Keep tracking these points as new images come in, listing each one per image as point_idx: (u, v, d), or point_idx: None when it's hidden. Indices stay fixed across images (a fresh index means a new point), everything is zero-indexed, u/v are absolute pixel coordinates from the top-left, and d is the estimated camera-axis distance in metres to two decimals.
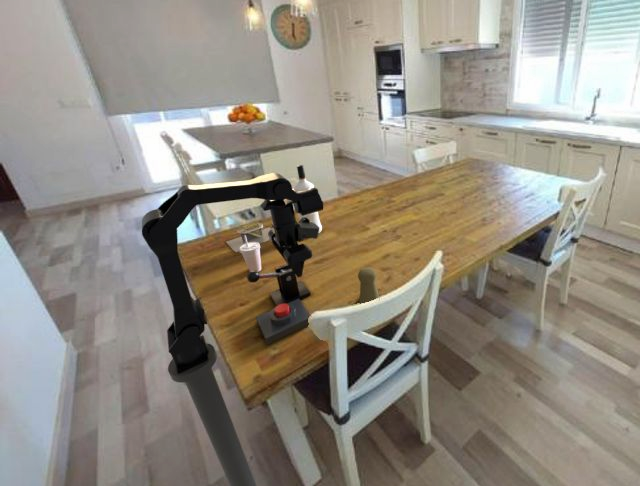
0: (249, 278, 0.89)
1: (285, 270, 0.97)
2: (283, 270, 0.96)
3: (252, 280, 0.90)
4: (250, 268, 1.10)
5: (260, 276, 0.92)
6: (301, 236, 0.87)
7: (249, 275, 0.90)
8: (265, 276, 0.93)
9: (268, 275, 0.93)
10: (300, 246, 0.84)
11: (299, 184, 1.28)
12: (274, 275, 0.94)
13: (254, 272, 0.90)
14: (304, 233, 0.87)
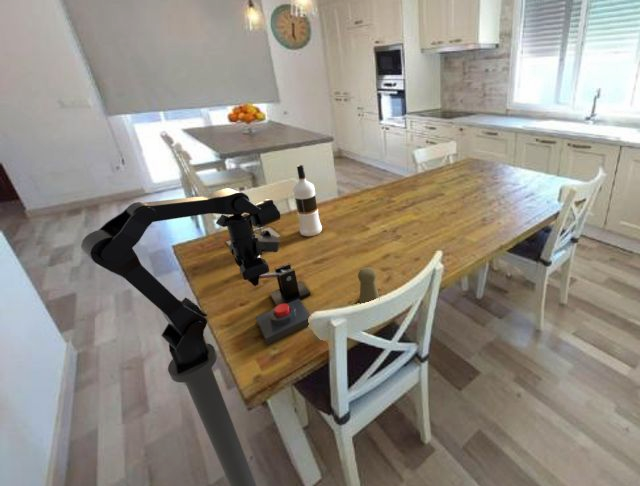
0: None
1: (285, 270, 0.97)
2: (283, 270, 0.96)
3: None
4: None
5: (260, 276, 0.92)
6: (259, 250, 0.87)
7: None
8: (265, 276, 0.93)
9: (268, 275, 0.93)
10: (257, 261, 0.84)
11: (299, 184, 1.28)
12: (274, 275, 0.94)
13: None
14: (263, 247, 0.87)
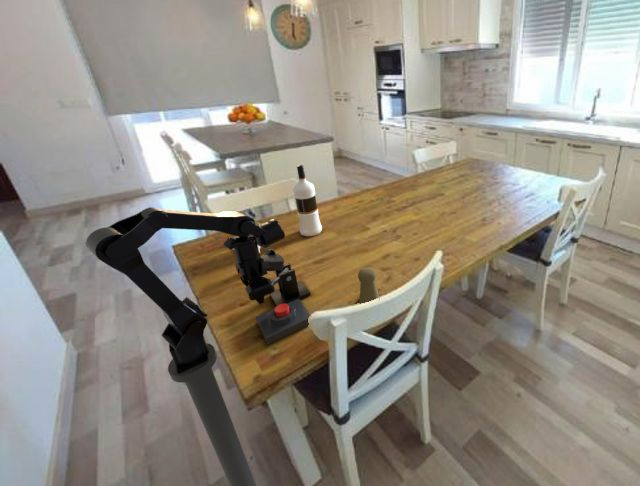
0: None
1: (282, 271, 0.96)
2: (281, 272, 0.96)
3: None
4: None
5: None
6: (265, 270, 0.90)
7: None
8: None
9: None
10: (262, 281, 0.86)
11: (299, 184, 1.28)
12: (275, 281, 0.95)
13: None
14: (268, 267, 0.90)
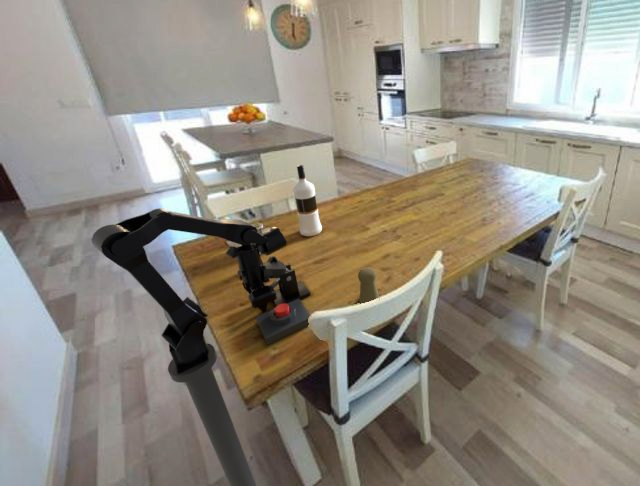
0: None
1: None
2: None
3: None
4: None
5: None
6: (267, 277, 0.91)
7: None
8: None
9: None
10: (265, 288, 0.87)
11: (299, 184, 1.28)
12: (276, 283, 0.95)
13: None
14: (270, 274, 0.91)
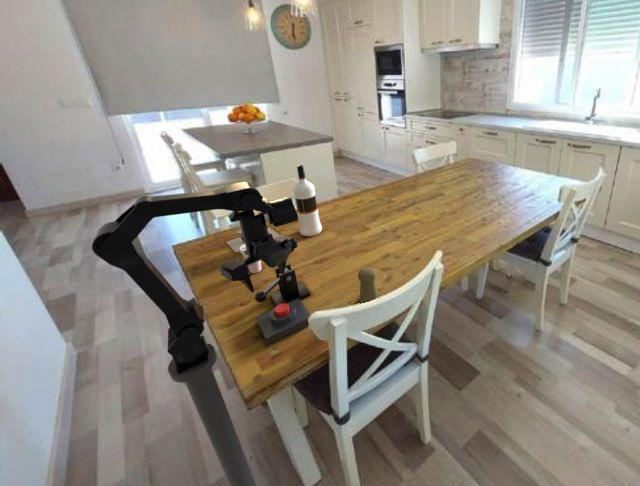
0: (258, 301, 0.93)
1: None
2: (280, 273, 0.96)
3: (261, 301, 0.93)
4: (250, 268, 1.10)
5: (265, 293, 0.94)
6: (255, 256, 0.79)
7: (256, 299, 0.93)
8: (270, 289, 0.95)
9: (271, 287, 0.95)
10: (238, 264, 0.77)
11: (299, 184, 1.28)
12: (276, 283, 0.95)
13: (257, 294, 0.93)
14: (258, 255, 0.78)
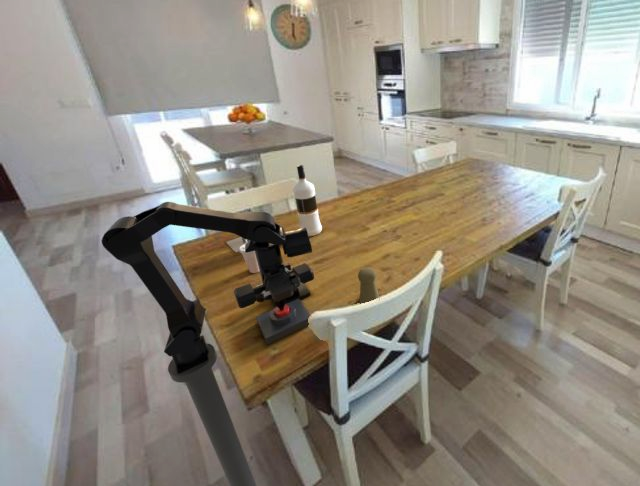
0: (258, 301, 0.93)
1: None
2: None
3: (261, 301, 0.93)
4: (250, 268, 1.10)
5: None
6: (265, 286, 0.79)
7: None
8: None
9: None
10: (247, 291, 0.79)
11: (299, 184, 1.28)
12: None
13: (257, 294, 0.93)
14: (266, 286, 0.79)
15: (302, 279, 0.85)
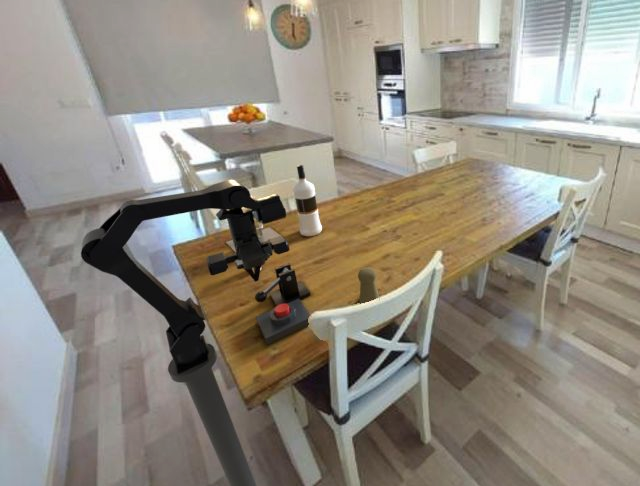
0: (258, 301, 0.93)
1: (282, 272, 0.96)
2: (280, 273, 0.96)
3: (261, 301, 0.93)
4: None
5: (265, 293, 0.94)
6: (237, 254, 0.79)
7: (256, 299, 0.93)
8: (270, 289, 0.95)
9: (271, 287, 0.95)
10: (219, 259, 0.79)
11: (299, 184, 1.28)
12: (276, 283, 0.95)
13: (257, 294, 0.93)
14: (238, 253, 0.78)
15: (276, 250, 0.85)
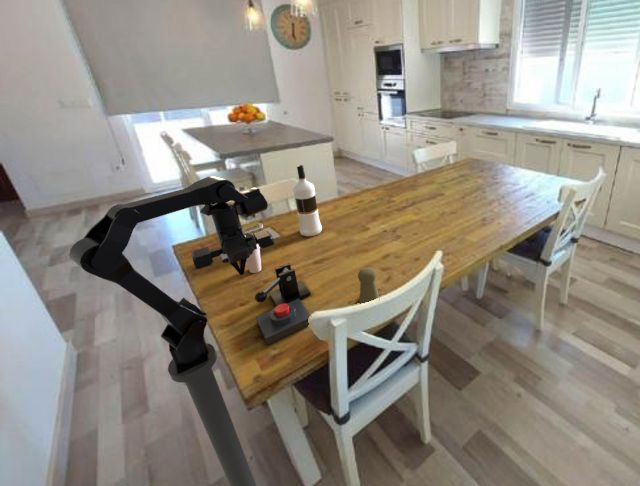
0: (258, 301, 0.93)
1: (282, 272, 0.96)
2: (280, 273, 0.96)
3: (261, 301, 0.93)
4: (250, 268, 1.10)
5: (265, 293, 0.94)
6: (221, 248, 0.81)
7: (256, 299, 0.93)
8: (270, 289, 0.95)
9: (271, 287, 0.95)
10: (204, 253, 0.80)
11: (299, 184, 1.28)
12: (276, 283, 0.95)
13: (257, 294, 0.93)
14: (223, 247, 0.80)
15: (261, 244, 0.87)
